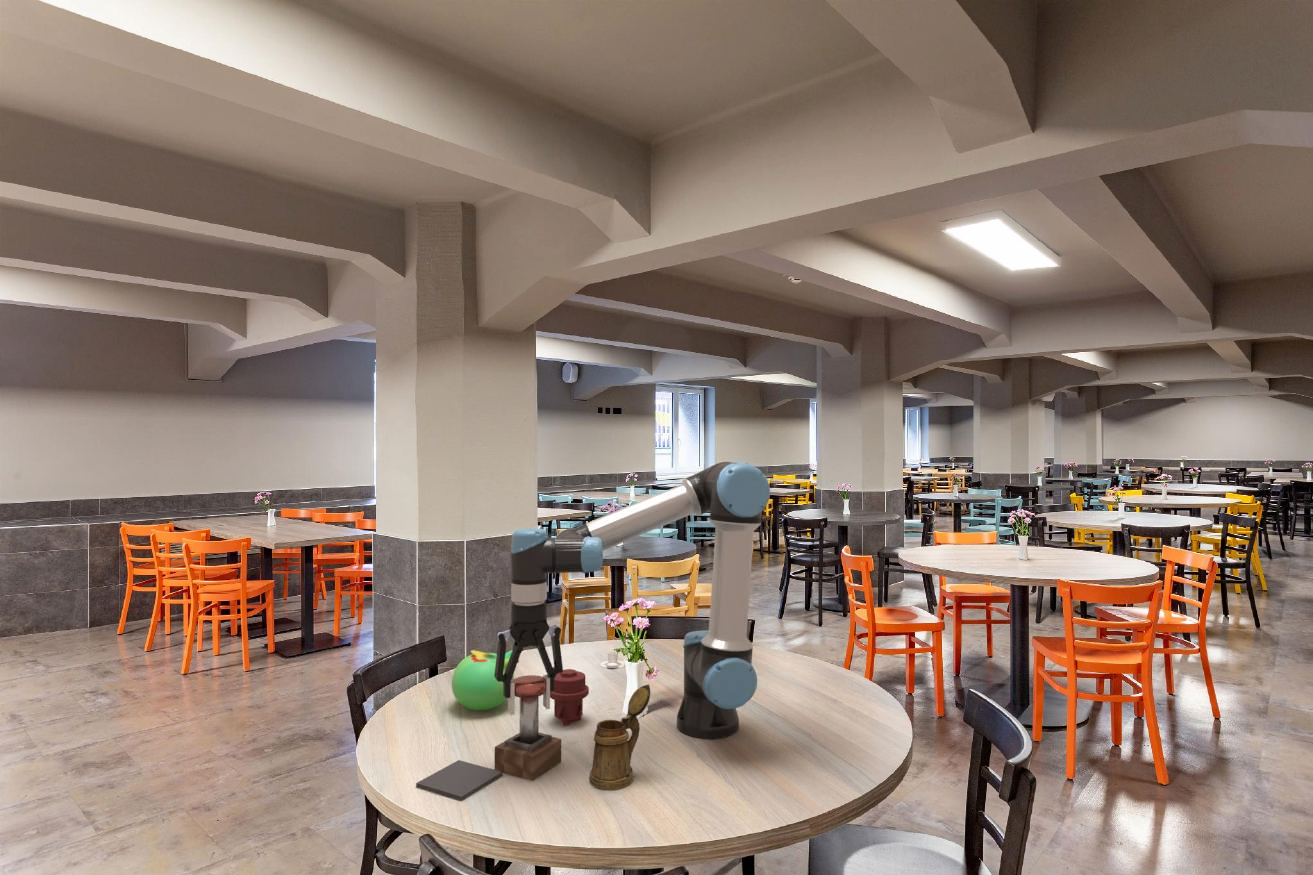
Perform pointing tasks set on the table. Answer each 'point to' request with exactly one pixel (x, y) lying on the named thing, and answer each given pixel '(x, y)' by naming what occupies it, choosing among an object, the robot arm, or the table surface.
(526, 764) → the eye block
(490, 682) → the toy bird
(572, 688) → the mechanical component
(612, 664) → the white ring with peg
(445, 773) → the rubber mat
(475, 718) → the table surface
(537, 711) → the peg
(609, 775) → the wooden mug
